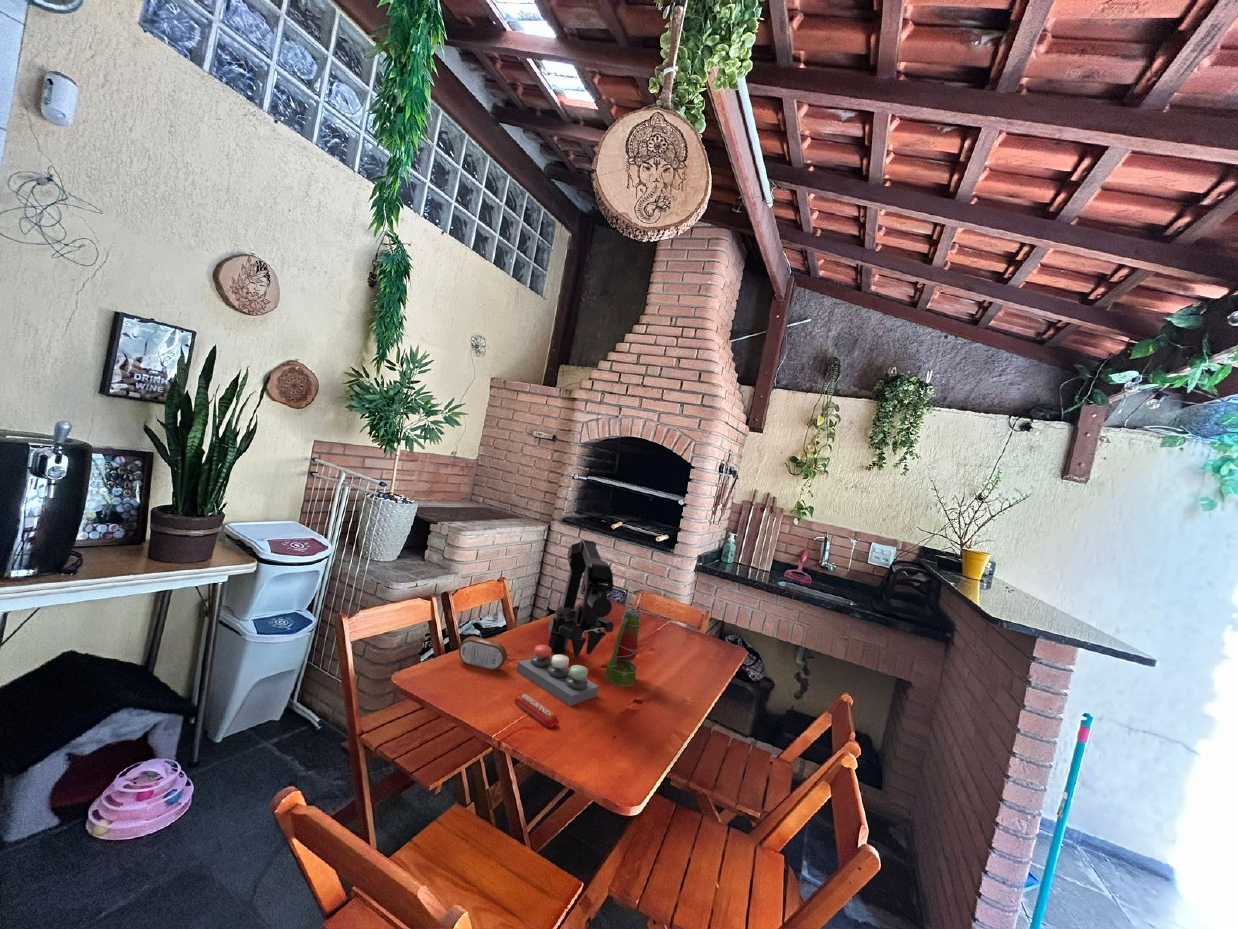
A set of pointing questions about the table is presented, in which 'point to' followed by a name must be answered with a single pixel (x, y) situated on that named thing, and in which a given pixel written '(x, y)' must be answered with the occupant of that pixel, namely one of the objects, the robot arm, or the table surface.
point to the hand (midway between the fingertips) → (581, 656)
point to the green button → (578, 672)
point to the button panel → (557, 680)
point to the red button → (542, 651)
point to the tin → (482, 653)
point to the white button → (560, 661)
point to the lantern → (625, 649)
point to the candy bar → (536, 710)
